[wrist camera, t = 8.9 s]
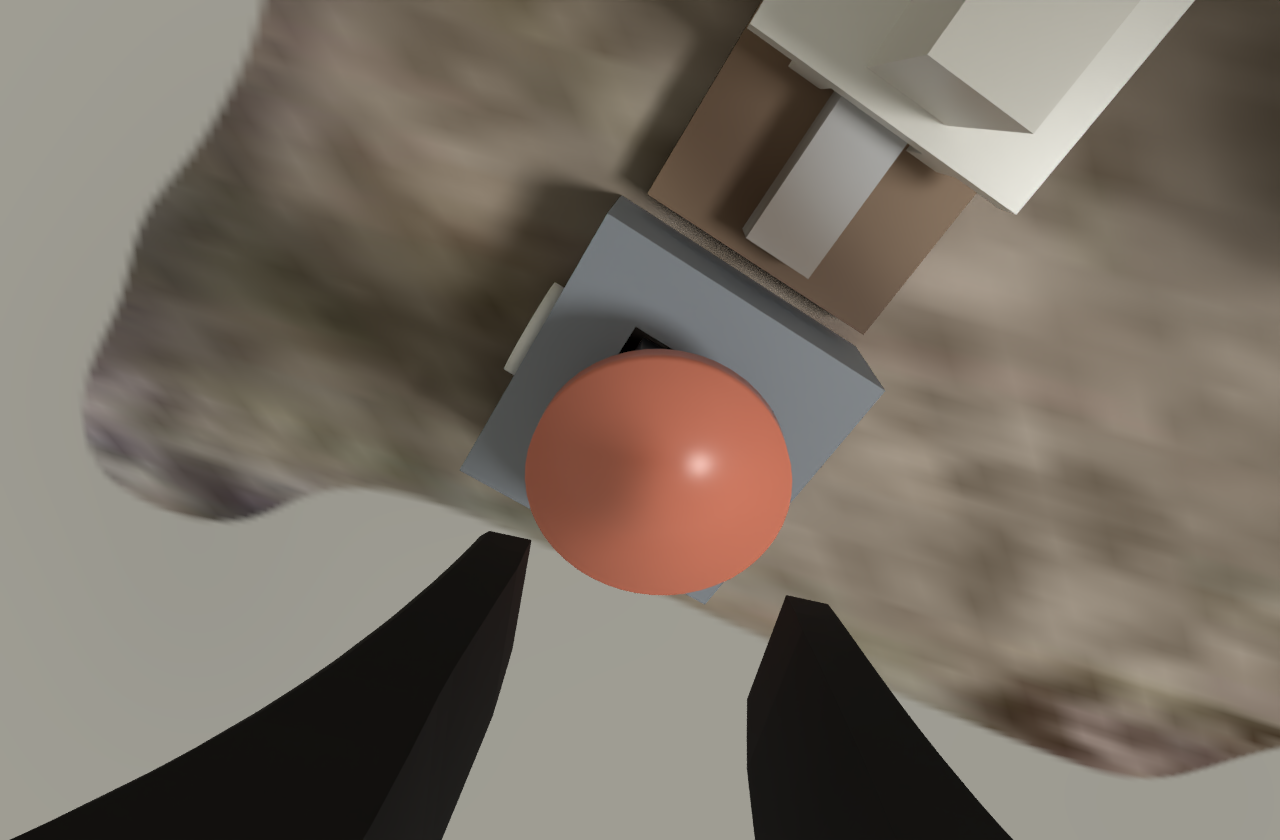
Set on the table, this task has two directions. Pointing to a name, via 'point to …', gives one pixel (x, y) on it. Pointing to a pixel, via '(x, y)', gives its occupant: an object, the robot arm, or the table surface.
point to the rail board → (806, 185)
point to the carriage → (974, 74)
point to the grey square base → (675, 346)
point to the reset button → (659, 472)
